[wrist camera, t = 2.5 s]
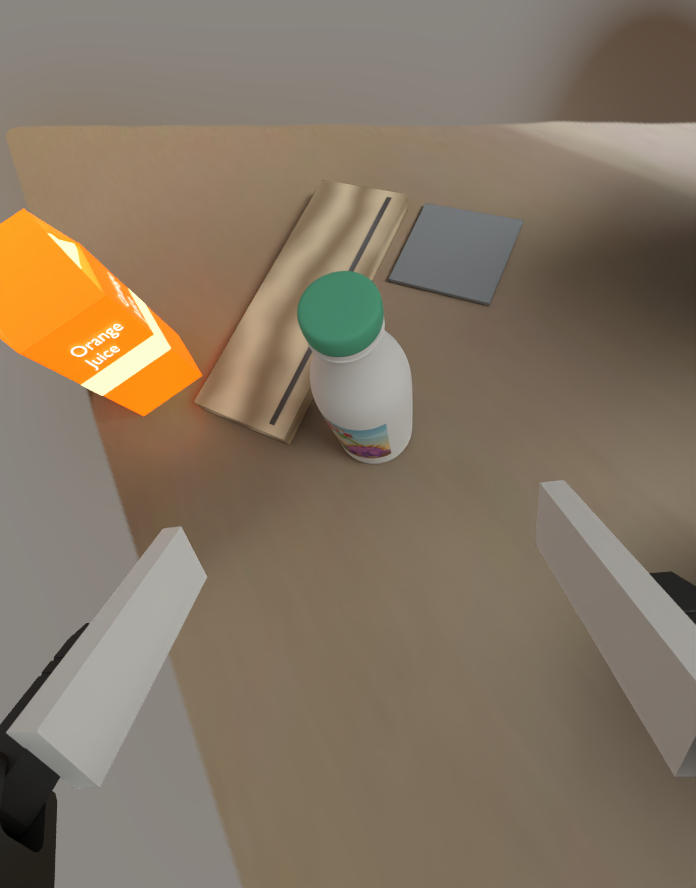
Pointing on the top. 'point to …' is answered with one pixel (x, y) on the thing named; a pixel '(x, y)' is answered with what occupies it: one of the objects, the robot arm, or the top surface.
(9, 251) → the orange juice
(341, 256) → the oak board
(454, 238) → the plate
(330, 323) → the milk bottle
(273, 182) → the top surface
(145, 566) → the robot arm
